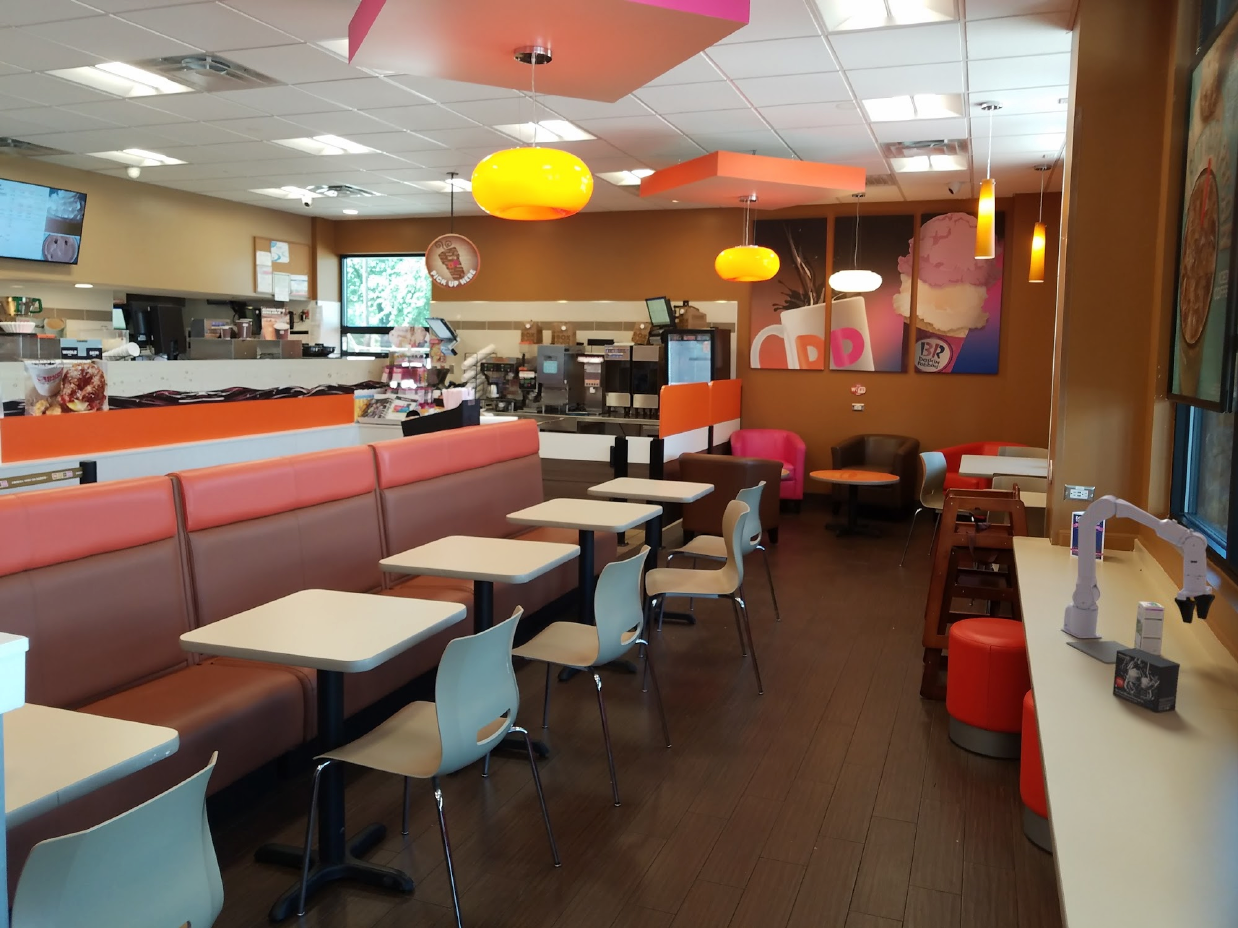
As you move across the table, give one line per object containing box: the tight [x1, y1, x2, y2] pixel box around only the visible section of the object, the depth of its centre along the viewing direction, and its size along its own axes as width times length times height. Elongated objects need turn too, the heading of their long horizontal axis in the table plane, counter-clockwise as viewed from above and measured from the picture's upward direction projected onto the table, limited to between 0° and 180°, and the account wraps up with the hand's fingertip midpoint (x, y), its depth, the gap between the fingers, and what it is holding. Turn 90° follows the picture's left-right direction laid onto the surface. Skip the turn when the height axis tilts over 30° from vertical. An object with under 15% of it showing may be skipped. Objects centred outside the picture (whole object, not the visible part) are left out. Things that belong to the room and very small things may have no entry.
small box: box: [1112, 647, 1181, 714], centre depth 238 cm, size 13×7×12 cm, turn 21°
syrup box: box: [1133, 601, 1165, 656], centre depth 278 cm, size 6×6×14 cm
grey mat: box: [1065, 640, 1132, 664], centre depth 277 cm, size 18×16×1 cm
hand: (1194, 620), depth 276 cm, fingers open, 7 cm apart
